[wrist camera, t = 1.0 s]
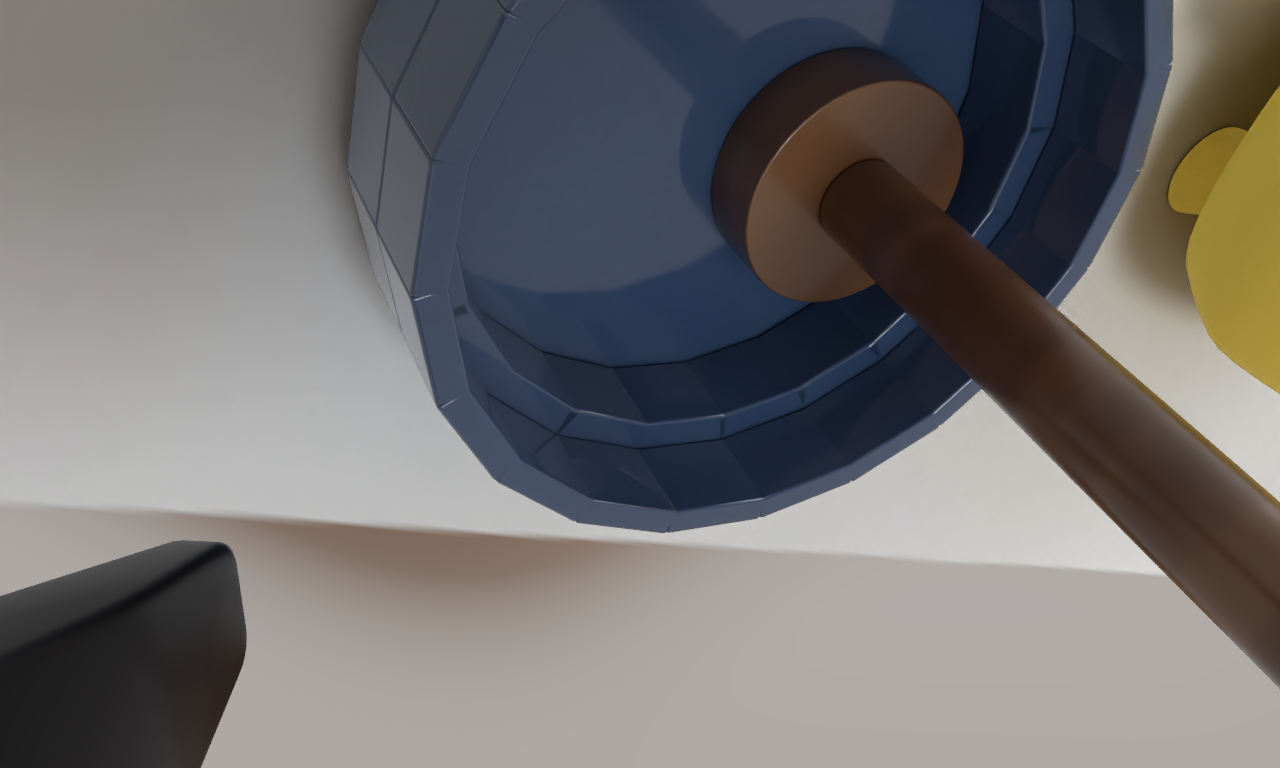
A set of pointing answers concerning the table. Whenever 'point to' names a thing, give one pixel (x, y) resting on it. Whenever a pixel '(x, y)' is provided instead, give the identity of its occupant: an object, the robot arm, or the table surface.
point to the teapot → (1237, 239)
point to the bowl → (704, 230)
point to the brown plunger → (986, 318)
